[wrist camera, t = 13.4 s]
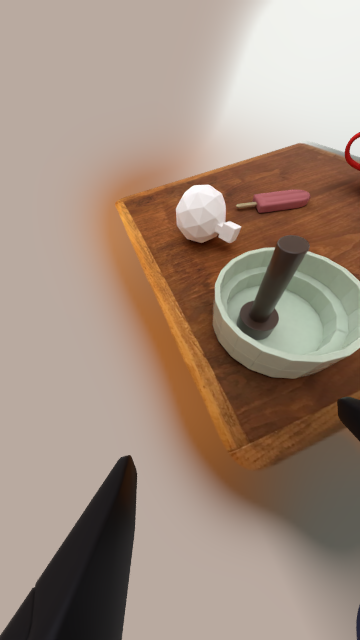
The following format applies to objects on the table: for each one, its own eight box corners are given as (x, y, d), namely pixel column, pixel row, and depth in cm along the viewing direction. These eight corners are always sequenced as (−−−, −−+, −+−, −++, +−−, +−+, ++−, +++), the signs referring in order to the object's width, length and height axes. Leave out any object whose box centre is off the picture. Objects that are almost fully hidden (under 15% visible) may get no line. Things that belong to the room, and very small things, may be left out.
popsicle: (234, 196, 40) (304, 187, 39) (233, 204, 41) (300, 195, 40) (239, 208, 37) (315, 198, 36) (238, 216, 38) (311, 207, 37)
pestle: (278, 324, 23) (338, 240, 13) (259, 347, 22) (308, 273, 12) (249, 306, 25) (281, 220, 15) (229, 326, 24) (250, 246, 14)
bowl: (366, 360, 20) (420, 337, 15) (237, 394, 20) (249, 381, 15) (291, 271, 28) (311, 236, 23) (199, 293, 28) (198, 262, 23)
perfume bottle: (162, 234, 34) (213, 265, 30) (170, 175, 27) (236, 205, 24) (189, 226, 39) (235, 252, 36) (201, 174, 33) (260, 199, 29)
